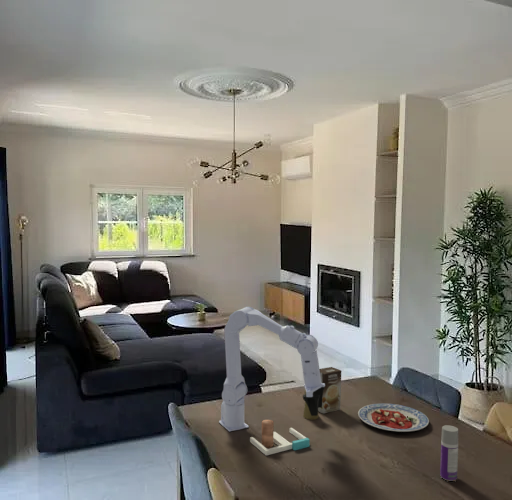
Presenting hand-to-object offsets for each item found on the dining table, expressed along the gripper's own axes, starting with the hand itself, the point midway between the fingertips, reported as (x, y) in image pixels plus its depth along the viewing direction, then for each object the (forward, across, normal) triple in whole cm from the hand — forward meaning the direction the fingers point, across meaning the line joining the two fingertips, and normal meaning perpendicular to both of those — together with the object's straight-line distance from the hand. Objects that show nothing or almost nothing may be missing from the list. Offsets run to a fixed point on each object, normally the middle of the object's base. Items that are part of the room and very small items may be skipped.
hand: (316, 411), depth 166 cm
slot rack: (+9, -6, +13) cm, 16 cm away
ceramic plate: (+14, +26, -22) cm, 37 cm away
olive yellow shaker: (+9, +20, +8) cm, 24 cm away
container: (+17, -10, -40) cm, 44 cm away
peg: (+8, -8, +16) cm, 20 cm away
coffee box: (+10, +30, +3) cm, 32 cm away
